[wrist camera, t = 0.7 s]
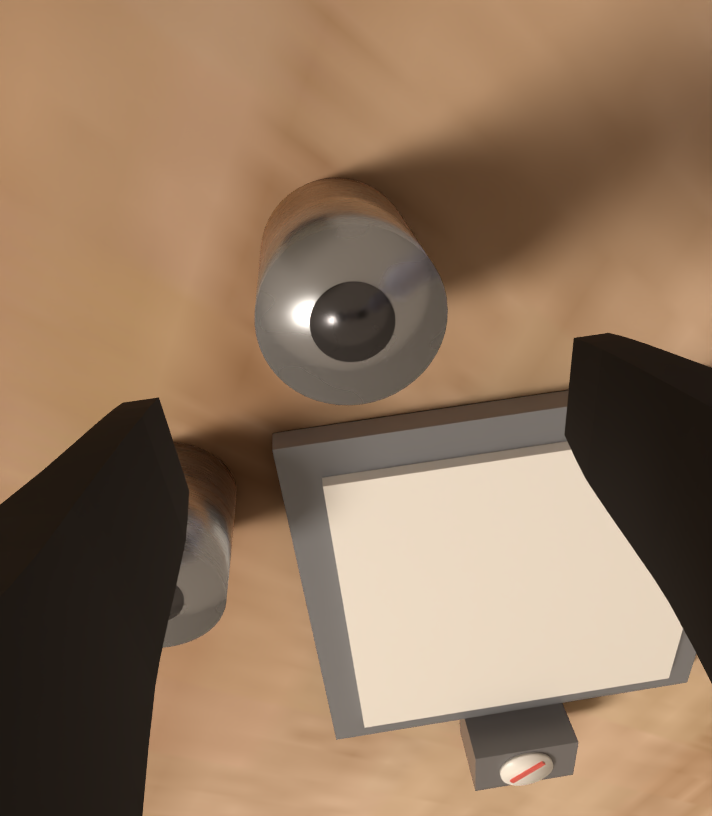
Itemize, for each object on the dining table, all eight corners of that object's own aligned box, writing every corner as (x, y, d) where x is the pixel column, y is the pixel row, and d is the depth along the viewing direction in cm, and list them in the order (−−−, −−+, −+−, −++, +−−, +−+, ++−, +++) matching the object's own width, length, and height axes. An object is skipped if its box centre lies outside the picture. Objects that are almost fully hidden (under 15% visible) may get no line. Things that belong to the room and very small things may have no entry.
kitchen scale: (765, 361, 22) (835, 409, 19) (666, 698, 33) (701, 759, 30) (272, 433, 21) (271, 493, 19) (341, 751, 32) (347, 819, 30)
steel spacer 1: (221, 433, 21) (206, 534, 17) (247, 528, 24) (239, 637, 19) (93, 452, 21) (44, 559, 17) (132, 545, 23) (98, 659, 19)
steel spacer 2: (404, 168, 17) (446, 212, 13) (413, 314, 20) (450, 392, 15) (247, 189, 17) (235, 240, 13) (275, 333, 19) (273, 418, 15)
